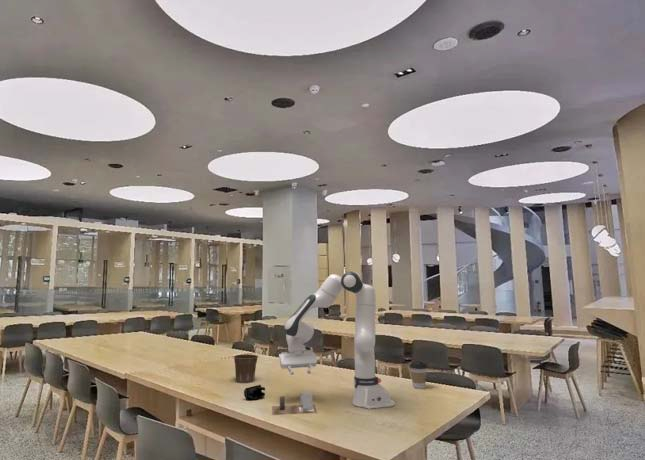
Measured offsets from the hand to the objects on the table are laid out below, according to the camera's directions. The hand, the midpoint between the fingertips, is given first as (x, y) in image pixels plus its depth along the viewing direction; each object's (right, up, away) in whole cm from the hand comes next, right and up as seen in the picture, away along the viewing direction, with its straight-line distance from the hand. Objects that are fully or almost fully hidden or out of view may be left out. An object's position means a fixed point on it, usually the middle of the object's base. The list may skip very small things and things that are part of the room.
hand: (300, 373), depth 215 cm
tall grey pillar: (+3, -13, -13) cm, 19 cm away
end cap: (-27, -19, +12) cm, 35 cm away
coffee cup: (+72, -22, +35) cm, 83 cm away
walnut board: (-3, -15, -13) cm, 20 cm away
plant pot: (-40, -25, +55) cm, 72 cm away
